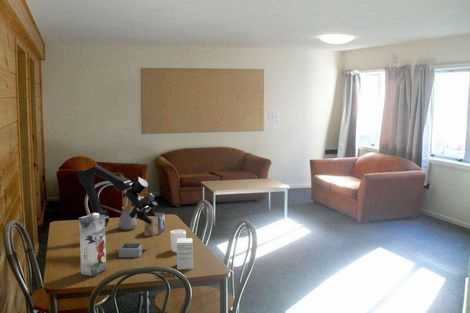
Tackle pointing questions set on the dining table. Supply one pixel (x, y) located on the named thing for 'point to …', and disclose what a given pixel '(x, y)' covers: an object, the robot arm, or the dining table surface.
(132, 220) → the coffee pot
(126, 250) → the open box
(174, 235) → the white cup
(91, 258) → the juice carton
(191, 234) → the dining table surface
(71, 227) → the dining table surface
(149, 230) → the tan upright block
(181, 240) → the supplement box
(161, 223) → the small box
